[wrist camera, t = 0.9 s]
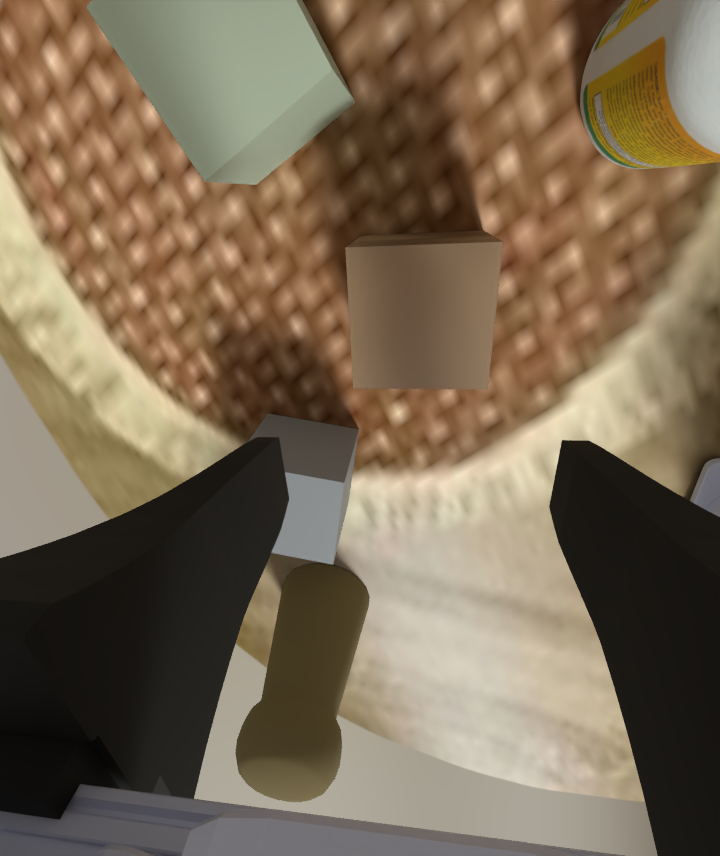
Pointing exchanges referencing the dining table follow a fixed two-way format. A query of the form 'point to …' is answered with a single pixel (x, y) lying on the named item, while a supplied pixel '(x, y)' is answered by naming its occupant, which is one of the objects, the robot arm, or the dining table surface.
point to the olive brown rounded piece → (304, 685)
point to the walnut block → (423, 309)
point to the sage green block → (229, 77)
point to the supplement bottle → (655, 84)
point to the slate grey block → (312, 484)
